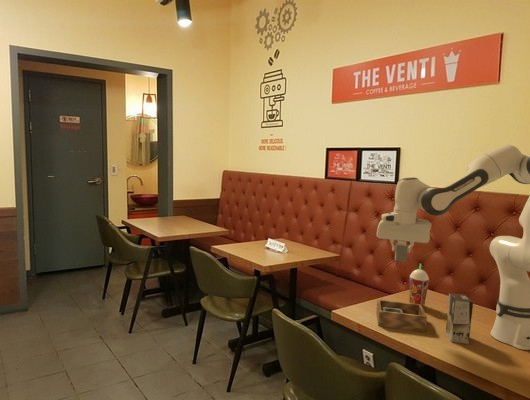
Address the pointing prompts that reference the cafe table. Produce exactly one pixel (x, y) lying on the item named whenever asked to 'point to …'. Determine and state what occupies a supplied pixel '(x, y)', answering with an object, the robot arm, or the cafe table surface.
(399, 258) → the plug
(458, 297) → the coffee box
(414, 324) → the crate
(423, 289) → the smoothie
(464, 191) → the robot arm
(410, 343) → the cafe table surface
